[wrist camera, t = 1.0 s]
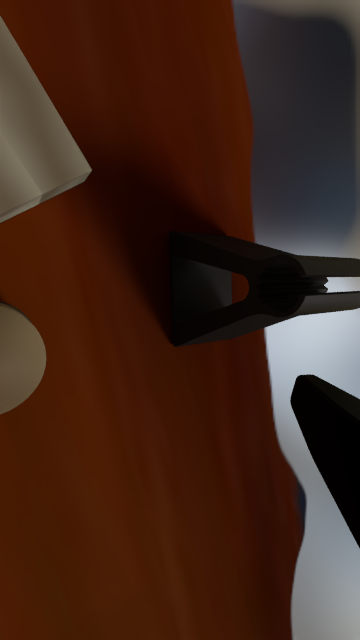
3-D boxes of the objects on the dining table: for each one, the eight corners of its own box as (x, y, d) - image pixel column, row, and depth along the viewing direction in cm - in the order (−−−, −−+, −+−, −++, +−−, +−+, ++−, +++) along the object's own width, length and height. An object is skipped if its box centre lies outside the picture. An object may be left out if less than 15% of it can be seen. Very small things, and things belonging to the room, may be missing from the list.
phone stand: (168, 231, 22) (307, 177, 12) (228, 237, 25) (378, 197, 15) (172, 346, 23) (303, 385, 13) (229, 338, 26) (372, 365, 16)
